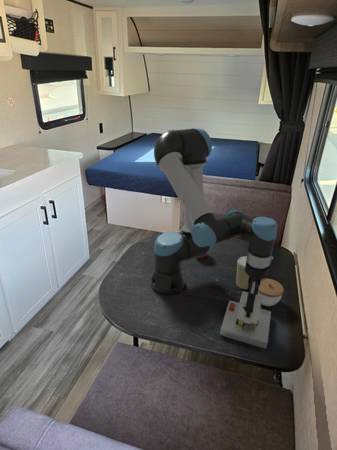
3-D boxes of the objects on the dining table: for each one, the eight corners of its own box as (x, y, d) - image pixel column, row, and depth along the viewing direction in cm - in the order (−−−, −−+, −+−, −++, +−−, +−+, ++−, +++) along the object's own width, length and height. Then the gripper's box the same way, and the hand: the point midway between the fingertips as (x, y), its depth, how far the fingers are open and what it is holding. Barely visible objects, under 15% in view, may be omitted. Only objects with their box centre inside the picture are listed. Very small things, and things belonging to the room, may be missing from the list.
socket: (219, 334, 107) (221, 327, 105) (228, 306, 120) (229, 298, 118) (266, 349, 102) (268, 341, 100) (269, 317, 115) (271, 309, 113)
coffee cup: (256, 292, 128) (260, 269, 123) (234, 289, 130) (237, 266, 124) (254, 279, 136) (259, 257, 131) (234, 276, 138) (237, 254, 132)
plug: (235, 324, 108) (239, 301, 103) (238, 313, 113) (242, 290, 108) (255, 330, 106) (260, 307, 101) (257, 318, 111) (262, 295, 106)
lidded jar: (259, 289, 130) (263, 271, 126) (283, 300, 124) (288, 282, 120) (248, 302, 122) (252, 283, 118) (273, 314, 116) (278, 295, 112)
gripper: (267, 282, 89) (255, 338, 99) (271, 251, 105) (261, 301, 115) (241, 276, 91) (233, 331, 102) (250, 246, 107) (241, 296, 118)
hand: (248, 315), depth 108 cm, fingers closed on plug, 6 cm apart
